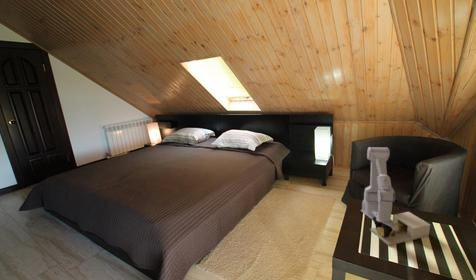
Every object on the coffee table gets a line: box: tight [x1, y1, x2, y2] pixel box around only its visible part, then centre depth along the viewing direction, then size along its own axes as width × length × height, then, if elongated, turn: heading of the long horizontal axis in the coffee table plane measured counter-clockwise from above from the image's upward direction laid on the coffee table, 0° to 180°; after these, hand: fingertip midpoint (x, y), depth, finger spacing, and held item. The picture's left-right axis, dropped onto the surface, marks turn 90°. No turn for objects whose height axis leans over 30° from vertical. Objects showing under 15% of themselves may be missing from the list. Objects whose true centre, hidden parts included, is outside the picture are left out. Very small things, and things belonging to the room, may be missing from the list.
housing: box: [369, 211, 431, 246], centre depth 115 cm, size 12×24×7 cm, turn 100°
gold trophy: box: [377, 222, 407, 236], centre depth 115 cm, size 6×14×4 cm, turn 100°
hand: (382, 233), depth 114 cm, fingers closed on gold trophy, 4 cm apart
